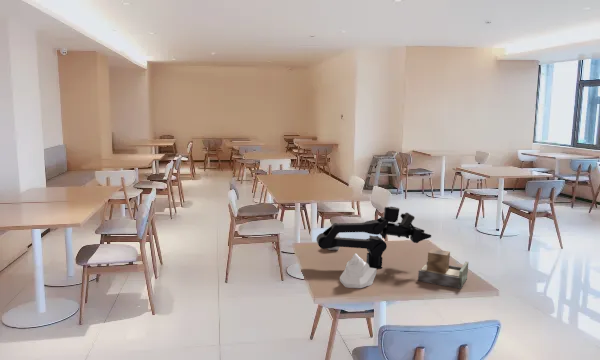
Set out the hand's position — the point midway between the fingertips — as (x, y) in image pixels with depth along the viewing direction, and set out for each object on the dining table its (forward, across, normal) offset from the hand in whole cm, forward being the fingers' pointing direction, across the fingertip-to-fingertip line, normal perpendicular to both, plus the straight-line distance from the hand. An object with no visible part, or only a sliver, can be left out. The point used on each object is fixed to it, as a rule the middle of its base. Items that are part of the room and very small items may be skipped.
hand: (427, 233), depth 229 cm
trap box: (+4, -17, +16) cm, 24 cm away
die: (-38, +29, +21) cm, 52 cm away
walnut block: (+1, -16, +12) cm, 20 cm away
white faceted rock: (-36, -23, +20) cm, 48 cm away
